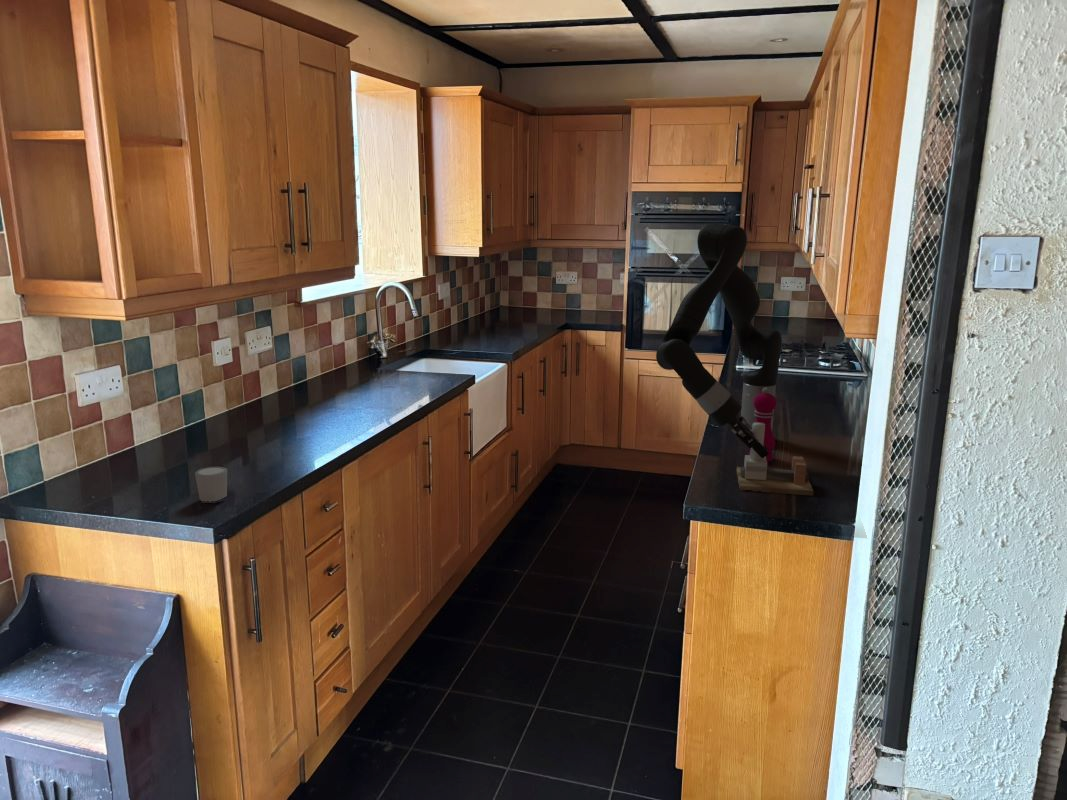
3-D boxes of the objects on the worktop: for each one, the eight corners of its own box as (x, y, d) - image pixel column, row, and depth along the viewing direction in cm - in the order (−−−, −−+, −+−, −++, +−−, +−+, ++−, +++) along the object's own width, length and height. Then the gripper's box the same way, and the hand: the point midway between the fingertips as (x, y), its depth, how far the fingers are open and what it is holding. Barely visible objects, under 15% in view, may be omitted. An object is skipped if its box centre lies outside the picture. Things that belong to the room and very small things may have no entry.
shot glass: (211, 493, 183) (208, 464, 182) (236, 496, 181) (233, 467, 180) (190, 503, 177) (187, 473, 175) (216, 506, 175) (213, 477, 173)
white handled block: (743, 471, 199) (747, 420, 196) (763, 472, 198) (768, 421, 195) (745, 478, 194) (749, 426, 191) (766, 480, 193) (770, 427, 190)
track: (736, 470, 204) (738, 448, 203) (804, 475, 201) (806, 452, 200) (739, 490, 190) (741, 465, 188) (813, 495, 187) (815, 470, 185)
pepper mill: (769, 454, 219) (774, 384, 214) (777, 462, 211) (784, 390, 207) (743, 454, 218) (748, 384, 214) (751, 462, 211) (757, 390, 207)
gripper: (731, 399, 186) (780, 452, 186) (728, 387, 199) (774, 436, 200) (706, 419, 188) (755, 471, 189) (706, 406, 202) (751, 454, 202)
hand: (764, 453), depth 194 cm, fingers closed on white handled block, 3 cm apart
